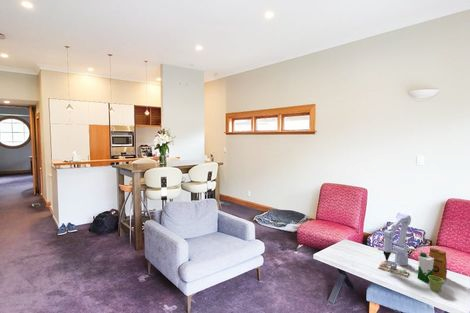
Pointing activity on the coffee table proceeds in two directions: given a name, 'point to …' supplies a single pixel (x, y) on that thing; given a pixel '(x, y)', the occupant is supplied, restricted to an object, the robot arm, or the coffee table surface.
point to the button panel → (393, 270)
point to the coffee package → (439, 263)
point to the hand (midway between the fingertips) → (386, 260)
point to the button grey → (393, 267)
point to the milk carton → (425, 267)
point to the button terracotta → (384, 264)
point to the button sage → (403, 271)
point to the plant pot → (435, 283)
